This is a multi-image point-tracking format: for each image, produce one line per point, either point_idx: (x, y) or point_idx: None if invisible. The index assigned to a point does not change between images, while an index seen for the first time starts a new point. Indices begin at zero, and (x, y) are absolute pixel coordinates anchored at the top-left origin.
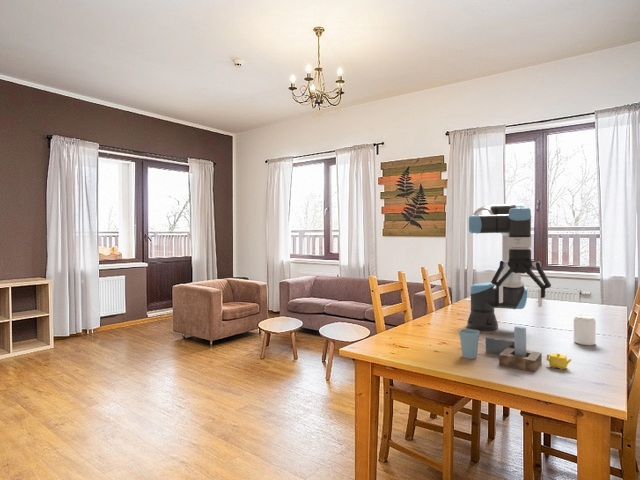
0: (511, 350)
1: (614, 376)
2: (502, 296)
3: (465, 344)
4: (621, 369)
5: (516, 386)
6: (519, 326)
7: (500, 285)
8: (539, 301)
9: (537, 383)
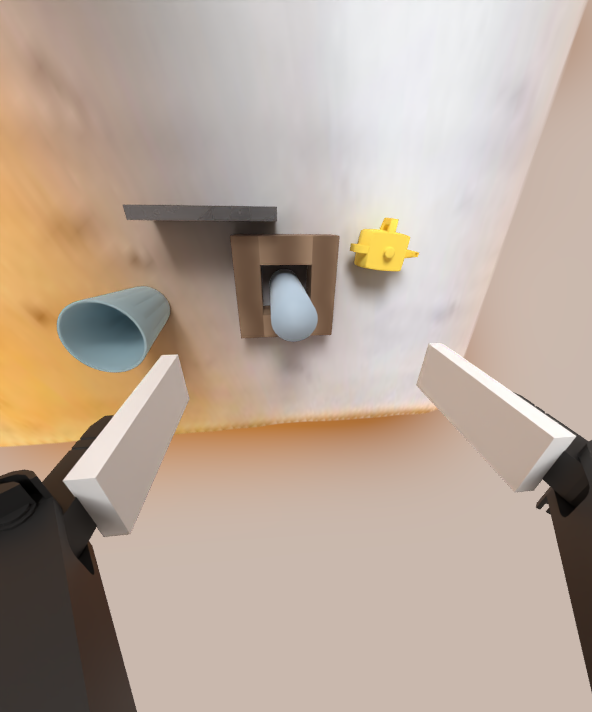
0: (254, 272)
1: (492, 236)
2: (164, 396)
3: (133, 347)
4: (538, 140)
5: (309, 416)
6: (287, 303)
7: (73, 501)
8: (444, 407)
9: (338, 383)
